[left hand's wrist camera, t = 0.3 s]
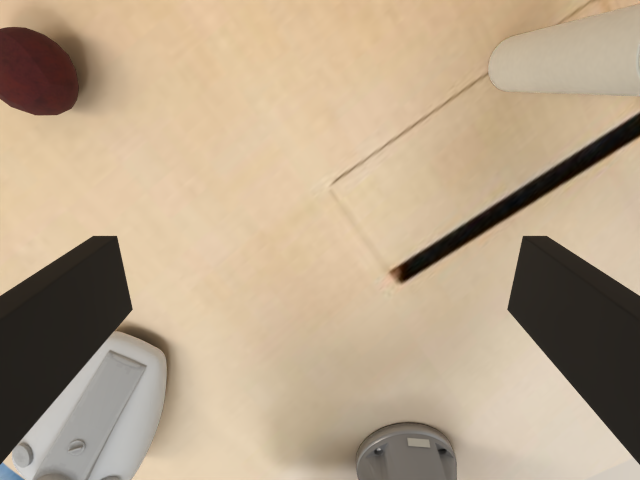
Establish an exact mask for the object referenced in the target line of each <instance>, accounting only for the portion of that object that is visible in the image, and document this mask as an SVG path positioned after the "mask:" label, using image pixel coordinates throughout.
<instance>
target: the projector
mask: <svg viewBox="0 0 640 480" xmlns="http://www.w3.org/2000/svg"><path fill="white" fill-rule="evenodd" d="M166 380H167V365H166V358H165V355H164V353H163V352H162V351H161V350H160V349H159V348H157V347H155V346H153V345H151V344H149V343H147V342H145V341H143V340H141V339H138V338H136V337H134V336H131V335H128V334H125V333H123V332H119V331H114V332H113V333H112V334H111V335H110V337H109V338H108V339H107V340H106V341H105V342H104V344H103V345H102V346H101V347H100V348H99V349H98V351H97V352H96V353H95V354H94V355H93V357H92V358H91V359H90V360H89V361H88V362H87V364H86V365H85V366H84V367H83V368H82V369H81V371H80V372H79V373H78V374H77V375H76V376H75V378H74V379H73V380H72V381H71V382H70V383H69V385H68V386H67V387H66V388H65V389H64V391H63V392H62V393H61V394H60V395H59V396H58V398H57V399H56V400H55V401H54V402H53V403H52V405H51V406H50V407H49V408H48V409H47V410H46V412H45V413H44V414H43V415H42V416H41V417H40V419H39V420H38V421H37V422H36V423H35V425H34V426H33V427H32V428H31V429H30V430H29V432H28V433H27V434H26V435H25V436H24V437H23V439H22V440H21V441H20V442H19V443H18V444H17V446H16V447H15V448H14V449H13V450H12V460H13V464H14V466H15V468H16V469H17V471H18V472H19V473H20V474H21V475H22V476H23V477H24V478H25V479H26V480H131V479H132V478H133V476H134V475H135V473H136V472H137V470H138V469H139V467H140V465H141V463H142V461H143V459H144V458H145V456H146V454H147V451H148V449H149V447H150V445H151V443H152V440H153V438H154V435H155V433H156V430H157V427H158V424H159V421H160V417H161V414H162V409H163V405H164V399H165V391H166Z"/></svg>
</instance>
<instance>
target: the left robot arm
mask: <svg viewBox="0 0 640 480" xmlns="http://www.w3.org/2000/svg"><path fill="white" fill-rule="evenodd" d="M132 310H133V309H132V304H131V300H130V295H129V290H128V286H127V281H126V276H125V271H124V267H123V262H122V257H121V253H120V248H119V243H118V239H117V236H93V237H91V238H89V239H88V240H86V241H85V242H83V243H82V244H80V245H79V246H77V247H75V248H74V249H72V250H71V251H69V252H68V253H66V254H65V255H63V256H62V257H60V258H58V259H57V260H55V261H54V262H52V263H51V264H49V265H48V266H46V267H44V268H43V269H41V270H40V271H38V272H37V273H35V274H34V275H32V276H31V277H29V278H27V279H26V280H24V281H23V282H21V283H20V284H18V285H17V286H15V287H13V288H12V289H10V290H9V291H7V292H6V293H4V294H3V295H1V296H0V464H1V463H2V462H3V461H4V460H5V458H6V457H7V456H8V455H9V454H10V453H11V451H12V450H13V449H14V448H15V447H16V446H17V444H18V443H19V442H20V441H21V440H22V439H23V437H24V436H25V435H26V434H27V433H28V432H29V430H30V429H31V428H32V427H33V426H34V425H35V423H36V422H37V421H38V420H39V419H40V417H41V416H42V415H43V414H44V413H45V412H46V410H47V409H48V408H49V407H50V406H51V405H52V403H53V402H54V401H55V400H56V399H57V398H58V396H59V395H60V394H61V393H62V392H63V391H64V389H65V388H66V387H67V386H68V385H69V383H70V382H71V381H72V380H73V379H74V378H75V376H76V375H77V374H78V373H79V372H80V371H81V369H82V368H83V367H84V366H85V365H86V364H87V362H88V361H89V360H90V359H91V358H92V357H93V355H94V354H95V353H96V352H97V351H98V349H99V348H100V347H101V346H102V345H103V344H104V342H105V341H106V340H107V339H108V338H109V337H110V335H111V334H112V333H113V332H114V331H115V330H116V328H117V327H118V326H119V325H120V324H121V323H122V321H123V320H124V319H125V318H126V317H127V315H128V314H129V313H130V312H131V311H132ZM507 310H508V311H509V312H510V313H511V314H512V315H513V317H514V318H515V319H516V320H517V321H518V323H519V324H520V325H521V326H522V327H523V328H524V330H525V331H526V332H527V333H528V334H529V335H530V337H531V338H532V339H533V340H534V341H535V342H536V344H537V345H538V346H539V347H540V348H541V349H542V351H543V352H544V353H545V354H546V355H547V357H548V358H549V359H550V360H551V361H552V362H553V364H554V365H555V366H556V367H557V368H558V369H559V371H560V372H561V373H562V374H563V375H564V376H565V378H566V379H567V380H568V381H569V382H570V383H571V385H572V386H573V387H574V388H575V389H576V391H577V392H578V393H579V394H580V395H581V396H582V398H583V399H584V400H585V401H586V402H587V403H588V405H589V406H590V407H591V408H592V409H593V410H594V412H595V413H596V414H597V415H598V416H599V417H600V419H601V420H602V421H603V422H604V423H605V425H606V426H607V427H608V428H609V429H610V430H611V432H612V433H613V434H614V435H615V436H616V437H617V439H618V440H619V441H620V442H621V443H622V444H623V446H624V447H625V448H626V449H627V450H628V451H629V453H630V454H631V455H632V456H633V457H634V459H635V460H636V461H637V462H638V463H639V464H640V296H639V295H637V294H636V293H634V292H633V291H631V290H630V289H628V288H627V287H625V286H623V285H622V284H620V283H619V282H617V281H616V280H614V279H613V278H611V277H609V276H608V275H606V274H605V273H603V272H602V271H600V270H599V269H597V268H596V267H594V266H592V265H591V264H589V263H588V262H586V261H585V260H583V259H582V258H580V257H578V256H577V255H575V254H574V253H572V252H571V251H569V250H568V249H566V248H565V247H563V246H561V245H560V244H558V243H557V242H555V241H554V240H552V239H551V238H549V237H547V236H523V239H522V243H521V248H520V253H519V257H518V262H517V267H516V271H515V276H514V281H513V286H512V290H511V295H510V300H509V304H508V309H507ZM356 467H357V475H358V479H359V480H457V462H456V458H455V455H454V452H453V449H452V446H451V444H450V442H449V441H448V439H447V438H446V437H445V436H444V435H443V434H442V433H441V432H439V431H438V430H436V429H434V428H432V427H429V426H426V425H422V424H416V423H401V424H394V425H390V426H387V427H384V428H382V429H379V430H378V431H376V432H374V433H372V434H371V435H370V436H368V437H367V438H366V439H365V440H364V441H363V443H362V444H361V445H360V447H359V449H358V451H357V455H356Z"/></svg>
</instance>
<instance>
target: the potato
mask: <svg viewBox="0 0 640 480" xmlns="http://www.w3.org/2000/svg"><path fill="white" fill-rule="evenodd" d="M78 89H79V85H78V80H77V74H76V70H75V68H74V66H73V64H72V62H71V60H70V57H69V55H68V54H67V53H66V52H65V51H64V50H63V49H62V48H61V47H60V46H59V45H58V44H56V43H55V42H54V41H52V40H51V39H49V38H48V37H47V36H45V35H43V34H41V33H38V32H36V31H33V30H30V29H27V28H21V27H7V28H2V29H0V99H1V100H3V101H4V102H5V103H7V104H8V105H9V106H11V107H13V108H16V109H19V110H22V111H25V112H28V113H31V114H34V115H58V114H61V113H63V112H65V111H67V110H69V109H71V108H72V107H73V105H74V104H75V102H76V101H77V96H78Z"/></svg>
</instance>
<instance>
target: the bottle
mask: <svg viewBox="0 0 640 480" xmlns="http://www.w3.org/2000/svg"><path fill="white" fill-rule="evenodd" d="M488 73H489V77H490V80H491V82H492V83H493V85H494V86H495V87H497V88H498V89H500V90H502V91H506V92H531V93H560V94H588V95H617V96H640V4H637V5H633V6H629V7H625V8H621V9H617V10H613V11H609V12H605V13H601V14H597V15H593V16H589V17H586V18H582V19H578V20H574V21H570V22H566V23H562V24H558V25H554V26H550V27H546V28H542V29H538V30H534V31H531V32H527V33H523V34H519V35H515V36H511V37H509V38H507V39H505V40H503V41H502V42H501V43H500V44H499V45H498V46H497V47H496V48H495V49H494V51H493V53H492V55H491V57H490V60H489V64H488Z"/></svg>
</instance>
